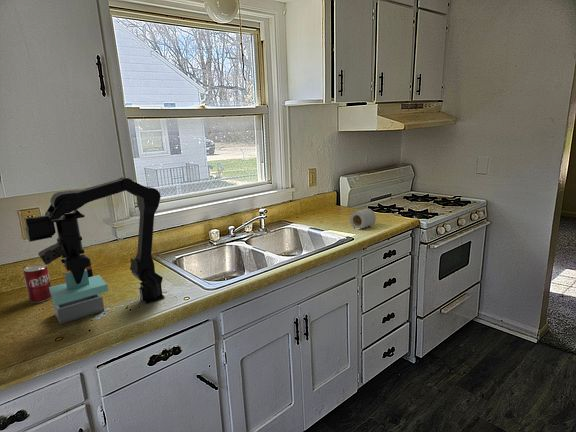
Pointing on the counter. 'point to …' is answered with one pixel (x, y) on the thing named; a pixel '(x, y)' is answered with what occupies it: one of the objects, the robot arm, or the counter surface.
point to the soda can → (37, 283)
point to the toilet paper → (362, 218)
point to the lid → (77, 288)
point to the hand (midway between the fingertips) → (77, 282)
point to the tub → (78, 308)
